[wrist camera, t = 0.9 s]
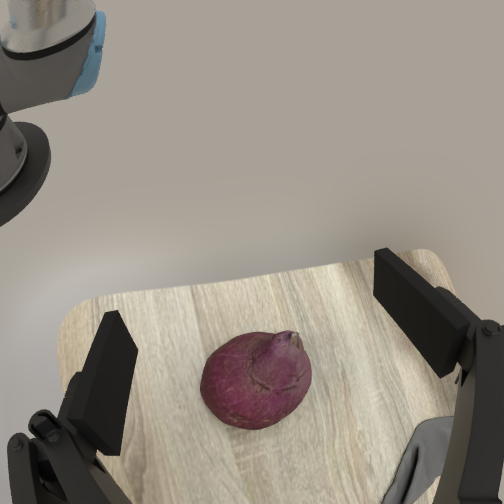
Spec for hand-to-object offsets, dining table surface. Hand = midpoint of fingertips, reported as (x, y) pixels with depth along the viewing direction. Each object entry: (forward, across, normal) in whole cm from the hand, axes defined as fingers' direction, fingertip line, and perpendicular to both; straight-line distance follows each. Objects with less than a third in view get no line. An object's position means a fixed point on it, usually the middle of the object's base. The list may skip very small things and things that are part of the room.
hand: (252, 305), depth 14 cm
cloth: (-1, +20, -38) cm, 43 cm away
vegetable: (+10, -2, -17) cm, 20 cm away
